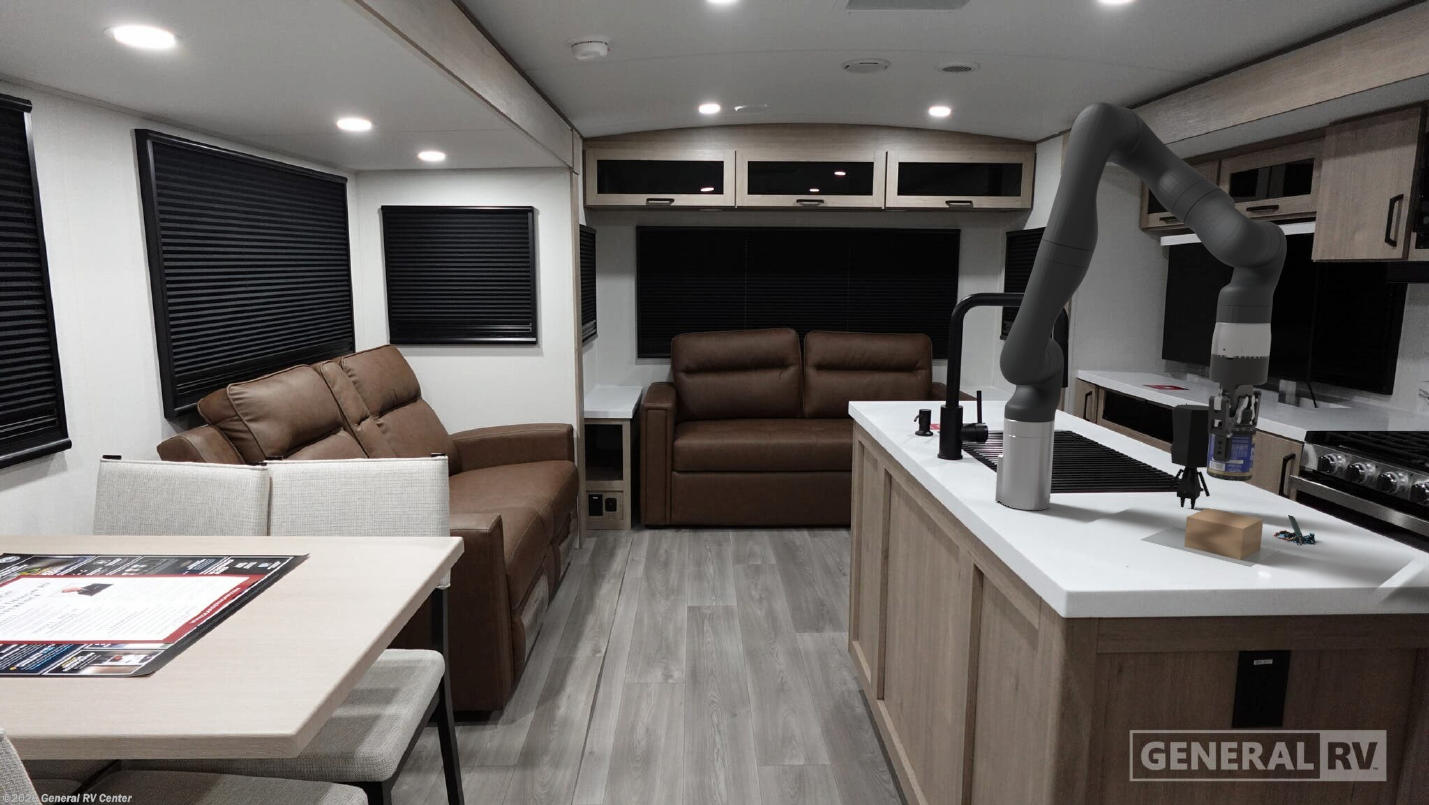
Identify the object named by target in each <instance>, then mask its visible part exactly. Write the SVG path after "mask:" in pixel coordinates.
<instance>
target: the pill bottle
mask: <svg viewBox="0 0 1429 805" xmlns="http://www.w3.org/2000/svg"><path fill="white" fill-rule="evenodd" d="M1252 413H1253V410H1251V409H1244V411H1243V414H1242V418H1241V421H1240V424H1239V425H1237V426H1235V429H1234V433H1233V436H1232V447H1231V458H1230V461H1228V462H1221V461H1215V460H1214V459H1213V450H1214V439H1215V436H1213V435H1212V434H1210V436H1209V448H1208V459H1207V467H1206V475H1208V476H1209V477H1211V478H1214V479H1218V480H1222V481H1228V482H1229V481H1232V482H1248V481H1251V479H1253V470H1254V458H1255V450H1256V449H1255V447H1256V439H1257V428H1256V427H1254V426H1253V425H1252V424H1250V419H1251V418H1252ZM1229 417H1230V418H1232V417H1234V416H1230V415H1229ZM1221 427H1222V424H1221Z"/></svg>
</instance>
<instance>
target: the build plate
mask: <svg viewBox="0 0 1429 805" xmlns="http://www.w3.org/2000/svg"><path fill="white" fill-rule="evenodd" d="M1185 533H1186V528H1183V527H1178V526H1174V525H1172V526H1170V527H1168V528H1166V529H1163V530H1160V531H1157V532H1156V533H1153V534H1151V535H1147V536H1146V537H1143V538H1141V539H1140V541H1142V542H1148V543H1151V544H1155V545H1159V546H1164V547H1167V548H1168V547H1169V548H1172V549H1176V550H1180V551H1183V552H1187V553H1192V554H1196V555H1201V556H1204V557H1209V558H1212V559H1216V560H1220V561H1225V562H1228V563H1232V564H1237V565H1241V566H1245V567H1249V568H1251V567H1252V566H1254V565H1256V564H1258V563H1260V562H1262V561H1263V560H1265V559H1267V558H1269V557H1270V556H1273V555H1274V554H1276V553H1278V552H1280V550H1279V549H1276V548H1271V547H1266V546H1262V545H1261V547H1260V550H1258V551H1257V552H1255V553H1253V554H1251V555H1249V556H1247V557H1245V558H1243V559H1241V560H1238V559H1233V558H1229V557H1225V556H1221V555H1217V554H1213V553H1209V552H1205V551H1200V550H1196V549H1192V548H1188V547H1184V545H1185Z"/></svg>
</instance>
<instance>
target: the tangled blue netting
mask: <svg viewBox="0 0 1429 805" xmlns="http://www.w3.org/2000/svg"><path fill="white" fill-rule="evenodd" d="M1287 516H1288V519H1289V522H1290V524H1291V526H1292V529H1293V532H1290V531H1287V530H1285V529H1283V530H1280V531H1278V532H1275V534H1274V535H1273V537H1276V538H1277V539H1280V540H1283V541H1286V542H1287V543H1290V542H1291V543H1293V544H1296V546H1302V545H1308V544H1309V545H1312V546H1314V545H1316V540H1315V536H1316V534H1315V533H1314V532H1309V533H1308V534H1309V535H1307V534H1306V535H1303V533H1302V531H1301V528H1300V526H1299V523H1298V522H1297V520H1296V518H1295V516H1293V515H1290V514H1287Z"/></svg>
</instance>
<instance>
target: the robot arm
mask: <svg viewBox="0 0 1429 805" xmlns="http://www.w3.org/2000/svg"><path fill="white" fill-rule="evenodd" d="M1069 133H1070V134H1069V138H1068V141H1067V144H1066V145H1067V146H1066V151H1065V155H1064V161H1063V165H1062V169H1061V175H1060V179H1059V182H1058V186H1057V190H1056V194H1055V196H1054V200H1053V204H1052V207H1051V210H1050V214H1049V217H1048V221H1047V224H1046V226H1045V228H1044V231H1043V235H1042V237H1041V240H1040V243H1039V246H1038V249H1037V251H1036V256H1035V259H1034V263H1033V267H1032V270H1031V273H1030V276H1029V278H1028V282H1027V285H1026V288H1025V291H1024V295H1023V298H1022V301H1021V303H1020V307H1019V310H1018V312H1017V315H1016V316H1015V319H1014V321H1013V324H1012V325H1011V327H1010V328H1011V329H1010V331H1008V335H1007V337H1006V340H1005V342H1004V344H1003V346H1002V349H1001V352H1000V356H999V369H1000V372H1001V374H1002V376H1003V377H1004V380H1006V381H1007V382H1008V383H1010V384H1012V385H1015V390H1014V392H1013V395H1012V396H1011V398H1010V399H1009V400H1008V401H1007V402H1006V403H1005V405H1004V409H1003V410H1004V414H1003V432H1002V453H1000V454H998V455H997V460H996V461H997V465H996V482H995V498H994V499H995V501H994V502H997V501H1000V502H1001V503H1002V504H1001V503H1000V502H999V503H1000V504H1001V505H1003V504H1004V505H1003V506H1005V505H1006V506H1005V507H1008V506H1009V508H1013V509H1017V510H1027V511H1038V510H1039V511H1040V510H1045V509H1048V508H1049V507H1050V502H1051V489H1052V473H1053V472H1052V471H1053V457H1054V443H1055V442H1054V441H1055V440H1054V438H1055V425H1056V424H1055V420H1056V413H1057V409H1058V407H1059V405H1060V402H1061V398H1062V390H1063V380H1064V378H1063V377H1064V370H1065V365H1064V364H1065V361H1064V360H1065V358H1064V354H1063V350H1062V348H1061V345H1060V344H1059V343H1058V342H1057V341H1056V340H1055V339H1054V338H1051V337H1052V336H1051V335H1052V333H1053V330H1054V327H1055V324H1056V321H1057V319H1058V317H1059V315H1060V314H1061V312H1062V310H1063V309H1064V308H1065V307H1066V305H1067V303H1068V302H1069V301H1070V300H1071V298H1072V297H1073V296H1074V295H1075V293H1076V291H1077V290H1078V289H1079V287H1080V285H1081V284H1082V282H1083V280H1084V279H1085V277H1086V275H1087V272H1088V270H1089V267H1090V264H1091V262H1092V259H1093V256H1094V253H1095V250H1096V247H1097V244H1098V238H1099V221H1098V219H1099V218H1098V208H1097V206H1098V205H1097V199H1098V198H1097V196H1098V191H1099V186H1100V181H1101V178H1102V176H1103V173H1104V169H1105V167H1106V165H1107V163H1113V164H1115V165H1117V166H1119V167H1121V168H1123V169H1125V170H1126V171H1129V172H1130V173H1132V174H1133V175H1135V176H1137V178H1139V179H1140V180H1141V181H1142V182H1143V183H1144V184H1145V185H1146V187H1148V188H1149V190H1150V191H1151V193H1152V194H1153V195H1154V197H1155V199H1156V200H1157V201H1158V203H1159V204H1160V205H1162V207H1163V208H1164V209H1165V210H1166V211H1167V212H1169V213H1170V214H1171V215H1172V216H1174V217H1175V218H1176V219H1177V220H1179V222H1181V223H1182V224H1183V225H1184V226H1185V227H1187V228H1189V229H1190V230H1191V231H1193V233H1194V234H1195V235H1196V237H1197V239H1198V240H1199V241H1200V243H1202V245H1204V247H1205V248H1206V250H1208V252H1210V254H1212V255H1213V257H1215V258H1216V259H1217V260H1218V261H1220V262H1222V263H1223V264H1225V265H1227V266H1230V267H1233V268H1234V269H1233V271H1232V275H1231V276H1232V277H1231V280H1230V283H1228V284H1227V285H1225V286H1223V287H1222V288H1221V290H1220V291H1219V294H1218V300H1217V308H1216V316H1215V317H1216V318H1215V322H1216V323H1215V327H1214V332H1213V335H1212V342H1211V343H1212V344H1211V355H1210V366H1209V376H1208V377H1209V380H1210V381H1211V382H1213V383H1219V384H1220V386H1219V387H1220V388H1219V392H1218V394H1217V395H1216V396H1215V395H1214V396H1213V395H1210V396H1209V398H1208V406H1209V411H1208V433H1209V434H1212V435H1213V436H1215V439H1214V450H1213V459H1214V460H1215V461H1221V462H1228V461H1230V458H1231V447H1232V436H1233V433H1234V429H1235V426H1237V425H1239V424H1240V421H1241V418H1242V414H1243V411H1244V409H1251V410H1253V413H1252V418H1251V419H1250V424H1252V425H1253V426H1254V427H1255V428H1256V427H1257V426H1258V420H1259V414H1260V408H1261V407H1260V406H1261V399H1262V396H1263V395H1262V393H1263V392H1262V390H1258V389H1254V386H1258V385H1261V386H1262V385H1265V383H1267V382H1268V381H1267V380H1268V372H1269V363H1270V362H1269V361H1270V352H1271V344H1272V343H1271V342H1272V333H1271V331H1272V330H1271V322H1272V313H1273V312H1272V311H1273V302H1274V301H1273V298H1274V297H1273V296H1274V292H1275V291H1276V290H1275V289H1276V287H1277V286H1278V283H1279V280H1280V276H1281V274H1282V270H1283V268H1284V264H1285V260H1286V257H1287V250H1288V249H1287V248H1288V247H1287V246H1288V245H1287V238H1286V234H1285V232H1284V230H1283V229H1282V227H1280V225H1278V224H1276V223H1274V222H1272V221H1267V220H1256V219H1255V220H1253V219H1251V218H1249V217H1248V216H1247V215H1245V214H1243V213H1242V212H1241V211H1239V210H1238V208H1236V203H1235V202H1236V201H1235V200H1234V198H1233V197H1232V196H1231V195H1230V194H1228V193H1227V192H1226V190H1223V189H1222V188H1221V187H1220V186H1219V185H1217V184H1216V183H1214V181H1213V180H1211V179H1209V178H1208V177H1206V176H1205V175H1204V174H1202V173H1201V172H1200V171H1198V170H1197V169H1196V168H1194V167H1193V166H1191V165H1190V164H1189V163H1187V162H1186V161H1185V160H1183V159H1182V158H1181V157H1179V156H1178V155H1177V154H1176V153H1174V152H1173V151H1172V150H1171V149H1170V148H1169V147H1168V146H1167V145H1166V144H1165V143H1164V142H1163V141H1162V140H1161V139H1160V138H1159V137H1158V136H1157V134H1156V133H1155V132H1154V131H1153V130H1152V129H1151V127H1150V126H1149V125H1148V124H1147V123H1146V122H1145V121H1144V119H1143V118H1142V117H1141V116H1140V115H1139V114H1138V113H1137V112H1136V111H1134V110H1133V109H1131V108H1128V107H1125V106H1121V105H1117V104H1113V103H1110V102H1105V101H1103V102H1101V101H1098V102H1093V103H1091V104H1089V105H1087V106H1086V107H1085V108H1084V109H1083V110H1082V111H1081V112H1080V113H1079V114H1078V116H1077V117H1076V119H1075V121H1074V123H1073V125H1072V127H1071V130H1070V132H1069ZM1229 415H1230V416H1234V417H1232V418H1230V417H1229ZM1221 424H1222V427H1221Z"/></svg>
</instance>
